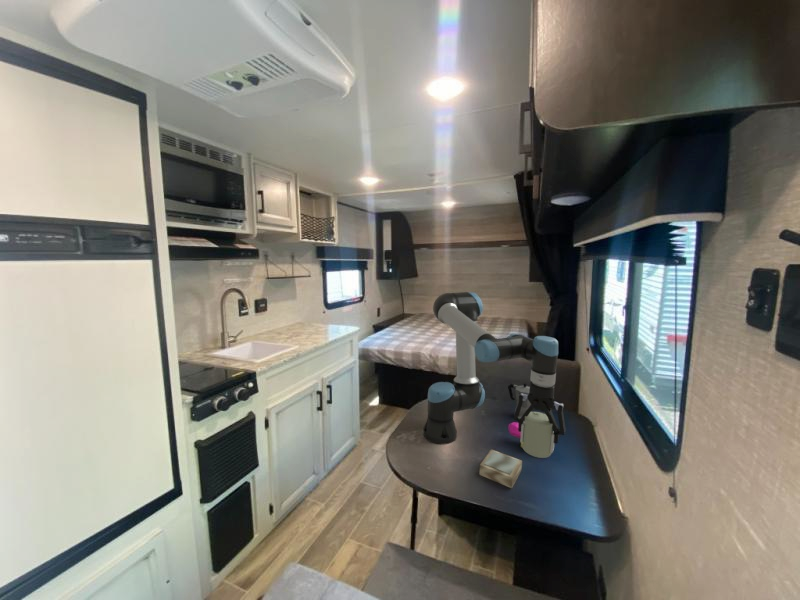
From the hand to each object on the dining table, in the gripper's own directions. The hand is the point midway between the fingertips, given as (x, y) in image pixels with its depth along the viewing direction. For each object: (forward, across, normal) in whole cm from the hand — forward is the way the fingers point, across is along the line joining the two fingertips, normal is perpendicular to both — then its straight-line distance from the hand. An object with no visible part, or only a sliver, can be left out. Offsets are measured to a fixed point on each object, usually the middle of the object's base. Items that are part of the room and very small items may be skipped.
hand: (536, 445), depth 109 cm
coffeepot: (+18, -18, +51) cm, 57 cm away
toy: (+17, -8, +25) cm, 32 cm away
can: (+2, 0, 0) cm, 2 cm away
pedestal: (+17, -12, +2) cm, 21 cm away
